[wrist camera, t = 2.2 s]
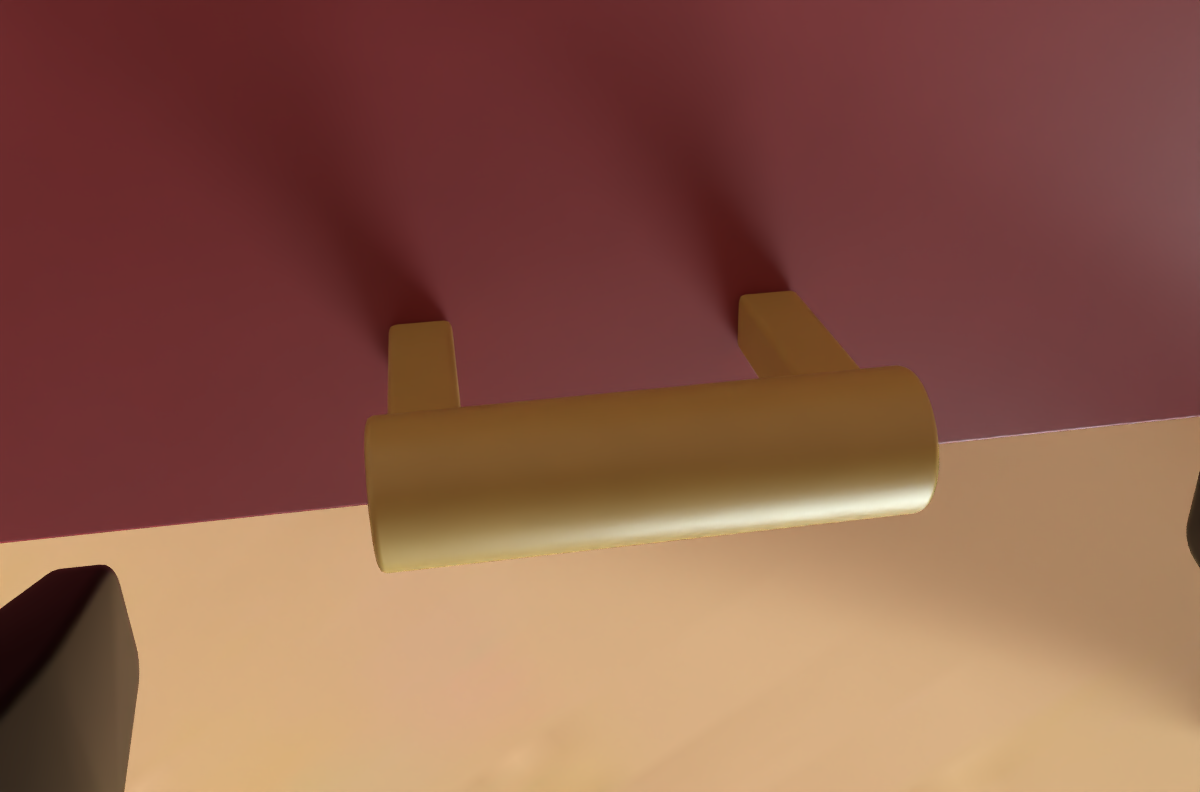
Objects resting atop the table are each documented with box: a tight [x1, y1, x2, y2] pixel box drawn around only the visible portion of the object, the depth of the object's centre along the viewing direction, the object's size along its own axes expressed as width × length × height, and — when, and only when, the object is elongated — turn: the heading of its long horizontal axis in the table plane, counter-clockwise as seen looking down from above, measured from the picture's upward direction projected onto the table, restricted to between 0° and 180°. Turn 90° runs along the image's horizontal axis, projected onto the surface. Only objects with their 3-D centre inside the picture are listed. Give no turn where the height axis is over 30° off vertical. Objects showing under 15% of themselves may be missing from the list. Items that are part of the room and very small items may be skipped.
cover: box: [0, 0, 1200, 573], centre depth 10 cm, size 11×16×4 cm
